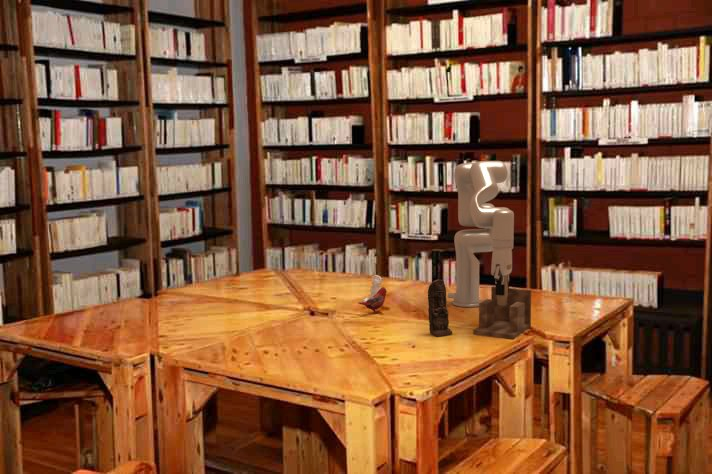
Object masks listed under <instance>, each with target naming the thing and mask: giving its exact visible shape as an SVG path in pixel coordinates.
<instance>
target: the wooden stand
mask: <svg viewBox="0 0 712 474" xmlns="http://www.w3.org/2000/svg"><path fill="white" fill-rule="evenodd" d="M490 293H491V294H490V296H491V297H490V298H486V299H484V300H481V301H482V302H480V303H479V306H478V327H476V328H475V329H473V334H472V335H474V336H475V335H477V336H483V335H484V336H485V337H492V336H493V338H499V337H500V338H501V339H509V340H515V339H516V338H517V337H519V336H520V335H522V333H525V331H527V330H528V329H530V328H531V324H532V323H531V322H532V289H523V288H514V287H509V293H508V296H507V300H506V301H507V304H506V305H505V306H504V305H502V306H501V305H498V304H497V301H498V300H497V295H496V286H494V285H493V286H491V292H490ZM500 338H499V339H500Z"/></svg>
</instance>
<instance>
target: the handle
mask: <svg viewBox="0 0 712 474" xmlns="http://www.w3.org/2000/svg"><path fill="white" fill-rule="evenodd" d="M511 267H512V268H513V263H512V264H510V265H507V269H508V270H509V269H511ZM499 276H502V275H501V274H499ZM499 278H501V277H499ZM501 280H502V278H501ZM504 285H505V294H504V295H503V296H502V295H497V300H498V301H497V304H498V305H501V306H502V305H504V306H505V305H506V304H507V301H506V300H507V296H508V283H507V275H506V276H504Z"/></svg>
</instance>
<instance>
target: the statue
mask: <svg viewBox="0 0 712 474" xmlns="http://www.w3.org/2000/svg"><path fill="white" fill-rule="evenodd" d="M427 303H428V323H429V325H428V326H429V333H430V334H431V335H432V336H434V337H445V336H450V335H452V334H453V330H452V329H450V328H449V323H450V320H449V311H448V307H447V288H446V284H445V282H444V280H443V279H436V280H433V281H432V282H431V283H430V285H429V286H428V289H427Z"/></svg>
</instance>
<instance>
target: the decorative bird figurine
mask: <svg viewBox="0 0 712 474" xmlns="http://www.w3.org/2000/svg"><path fill="white" fill-rule="evenodd" d="M387 293H388V291H387V289H386V287H383V286H382V287H381V289H380V290H379V291H378V292H377V294H375V295H374V296H372V297H371V298H369V299H368V300H367V301H366V302H362V301H358V302H357V304H358V305H359V304H360V305H363V306H365V307H366V308H367V309H369V310H372V313H371V314H372V315H373V314H379V313H380V312H381V310H379V311H378V309H380V308H381V307H382V306H383V305H384V303H385V299H386V295H387Z"/></svg>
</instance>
